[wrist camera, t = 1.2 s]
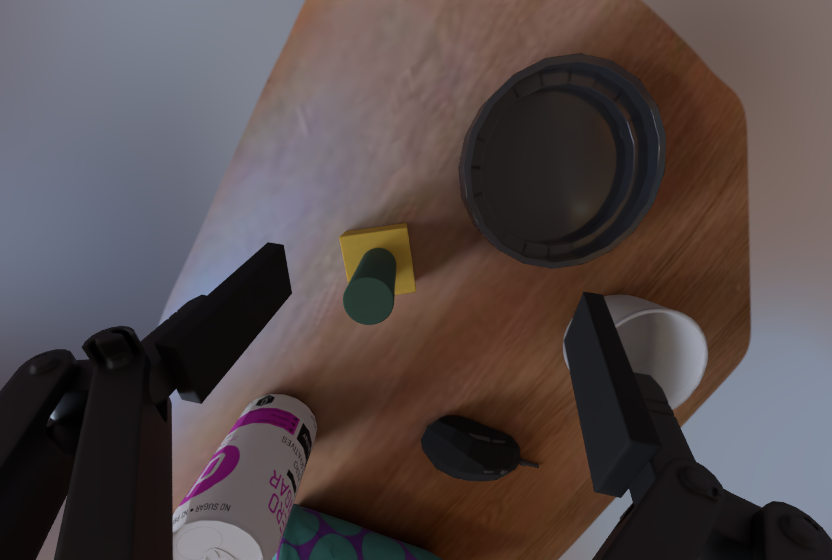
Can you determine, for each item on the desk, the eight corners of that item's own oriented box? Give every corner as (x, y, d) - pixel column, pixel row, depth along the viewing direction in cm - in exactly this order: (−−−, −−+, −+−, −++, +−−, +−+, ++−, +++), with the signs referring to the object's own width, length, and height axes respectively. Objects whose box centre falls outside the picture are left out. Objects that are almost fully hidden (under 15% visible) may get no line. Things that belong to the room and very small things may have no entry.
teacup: (553, 287, 37) (593, 316, 29) (657, 279, 37) (723, 305, 30) (549, 404, 41) (583, 457, 33) (643, 396, 41) (699, 447, 33)
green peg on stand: (345, 231, 35) (311, 261, 22) (406, 222, 35) (409, 248, 22) (356, 290, 36) (330, 351, 23) (415, 281, 36) (422, 338, 23)
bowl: (448, 82, 32) (454, 70, 28) (642, 55, 32) (671, 39, 28) (467, 270, 36) (474, 279, 33) (636, 246, 36) (660, 253, 33)
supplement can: (228, 417, 40) (128, 552, 25) (284, 376, 39) (214, 493, 24) (278, 464, 42) (213, 616, 27) (333, 427, 41) (295, 563, 26)
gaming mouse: (525, 485, 44) (537, 514, 40) (412, 449, 42) (414, 476, 38) (549, 444, 42) (564, 470, 38) (434, 405, 40) (437, 429, 36)
